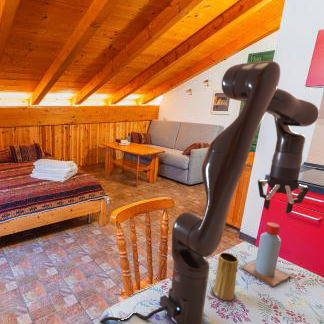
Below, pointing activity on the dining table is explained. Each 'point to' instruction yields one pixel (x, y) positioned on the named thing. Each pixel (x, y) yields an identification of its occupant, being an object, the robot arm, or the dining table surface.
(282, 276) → the coaster
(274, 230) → the cap
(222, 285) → the vase
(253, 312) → the dining table surface
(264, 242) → the bottle
